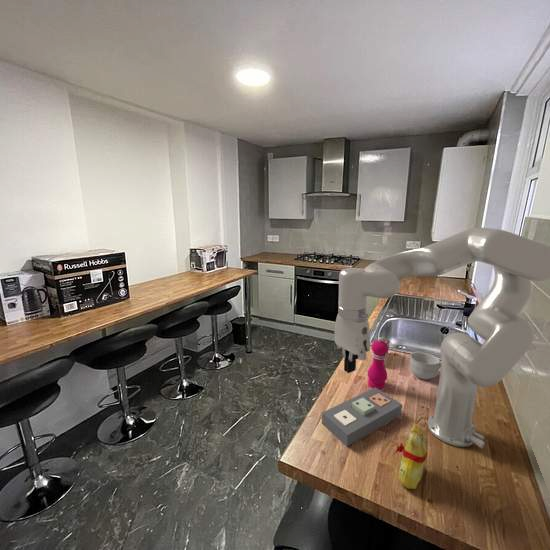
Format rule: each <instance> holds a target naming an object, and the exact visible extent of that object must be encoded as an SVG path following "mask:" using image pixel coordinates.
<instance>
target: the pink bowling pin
mask: <svg viewBox="0 0 550 550" xmlns="http://www.w3.org/2000/svg"><path fill="white" fill-rule="evenodd" d="M383 339H384V338H383V337H380V336H379V337H378V338H377V339H376V340H374V341H373V342H372V344H371V345H370V349H371V351H372V352H371V354H372V355H371V356H372V358H373V359H372V363H371V365H370V366H369V368H368V370H367V377H368V380H367V384H368V386H369V388H371V389H373V388H375V387H376V388H377V389H379V390H380V391H382V390H384V389H385V388H386V381H387V379H388V372H387V369H386V367H385V360H386V359H387V355H386V353H387V352H389V350H388V345H387V344H386V343H385V342H384V341H383ZM387 354H388V353H387Z"/></svg>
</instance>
